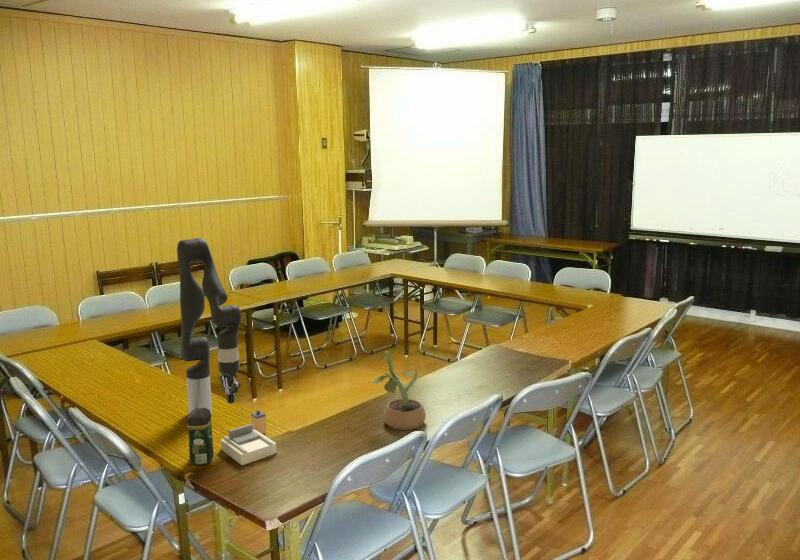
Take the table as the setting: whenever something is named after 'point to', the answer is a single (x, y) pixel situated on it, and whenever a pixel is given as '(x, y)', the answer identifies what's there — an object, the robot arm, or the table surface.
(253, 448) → the socket
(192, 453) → the coffee jar
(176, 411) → the table surface
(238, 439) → the shutter
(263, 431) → the plug
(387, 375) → the potted plant
